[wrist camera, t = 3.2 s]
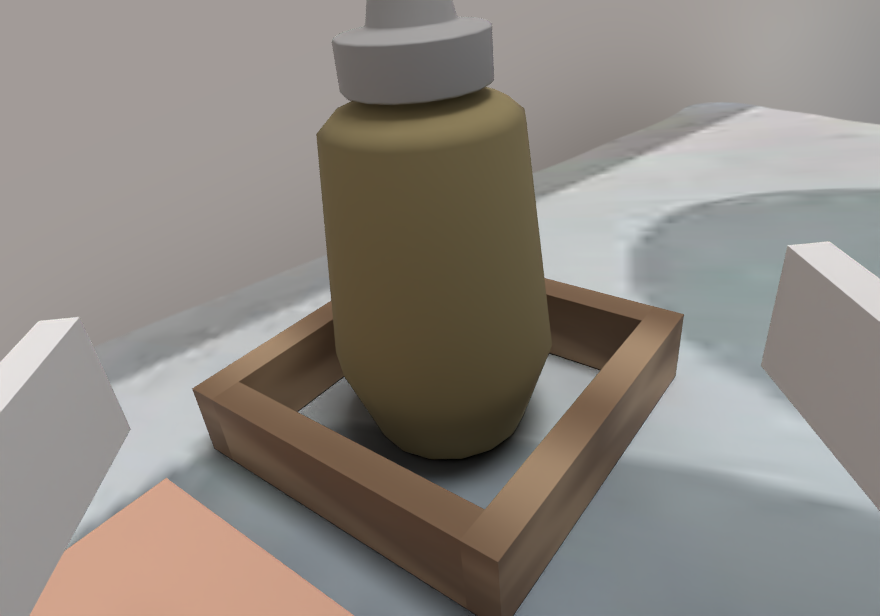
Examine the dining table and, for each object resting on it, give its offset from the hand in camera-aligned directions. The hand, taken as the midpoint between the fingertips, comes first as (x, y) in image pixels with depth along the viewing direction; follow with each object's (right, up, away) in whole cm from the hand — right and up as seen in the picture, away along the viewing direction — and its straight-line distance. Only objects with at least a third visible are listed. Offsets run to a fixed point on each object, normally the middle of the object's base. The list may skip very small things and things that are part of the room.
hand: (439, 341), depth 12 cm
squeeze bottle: (0, -4, +13) cm, 14 cm away
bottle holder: (0, -4, +13) cm, 14 cm away
